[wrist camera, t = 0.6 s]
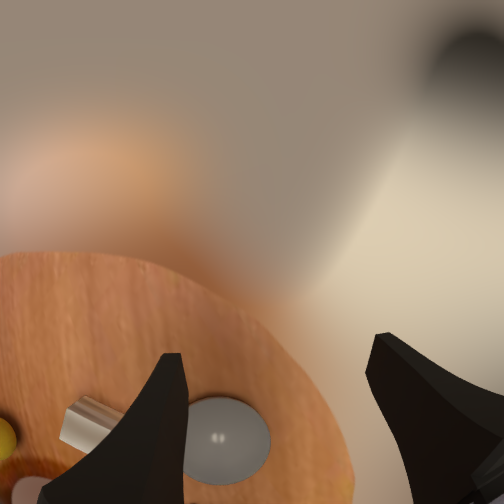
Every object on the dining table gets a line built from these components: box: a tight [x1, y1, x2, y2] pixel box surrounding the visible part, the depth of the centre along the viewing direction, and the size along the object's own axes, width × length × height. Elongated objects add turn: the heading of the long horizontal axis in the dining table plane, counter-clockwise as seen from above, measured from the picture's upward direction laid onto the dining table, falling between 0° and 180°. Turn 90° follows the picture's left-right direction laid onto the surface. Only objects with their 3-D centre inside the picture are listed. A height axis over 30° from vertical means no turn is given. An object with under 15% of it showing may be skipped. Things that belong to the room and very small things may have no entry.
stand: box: [183, 396, 271, 485], centre depth 31 cm, size 11×11×2 cm
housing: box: [59, 395, 125, 454], centre depth 27 cm, size 4×6×6 cm, turn 69°
